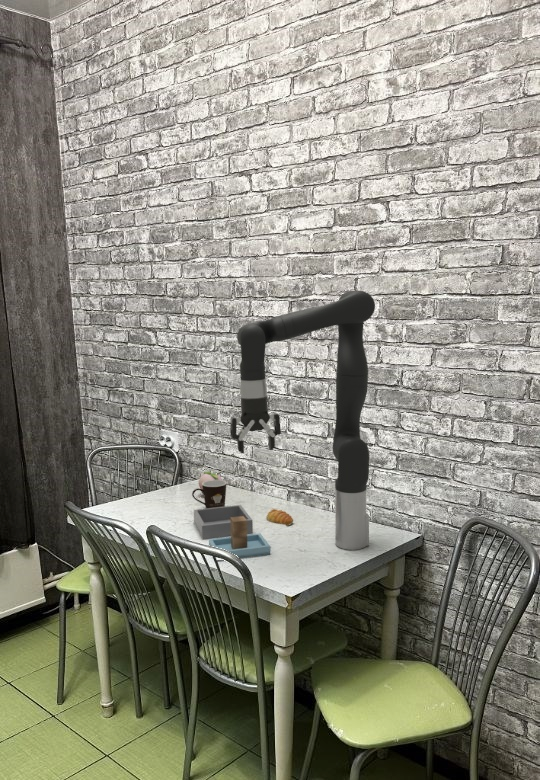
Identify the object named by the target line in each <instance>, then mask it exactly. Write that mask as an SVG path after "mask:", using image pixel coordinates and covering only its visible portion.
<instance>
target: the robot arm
mask: <svg viewBox="0 0 540 780" xmlns="http://www.w3.org/2000/svg"><path fill="white" fill-rule="evenodd" d="M375 310H376V302H375V299H374V297H373V296H372V295H371V294H370V293H368V292H366V291H363V290H359V289H358V290H349V291H345V292H344V293H343V294H341V296H340V297H339V299H338V300H336V301H333V302H330V303H327V304H324V305H320V306H316V307H311V308H305V309H299V310H296V311H290V312H288V313H284V314H280V315H277V316H275V317H272V318H269V319H264V320H259V321H255V322H250V323H248V324H247V323H246V324H244V325H242V326H241V327H240V328H239V329H238V331H237V335H236V338H237V342H238V344H239V345H240V353H241V354H240V356H241V361H240V364H239V373H240V375H239V376H240V388H239V389H240V390H239V396H240V407H241V415H240V417H234V416H231V417H230V423H229V424H230V437H231V438H232V440H236V441H237V442H236V443H237V450H238V452H239V453H240V454H244V453H245V444H244V438H245V437H246V435H247V434H248V433H249V431H250V432H257V431H263V430H264V431H265V432H266V433H267V434H268V436H267V437H268V439H267V441H268V450H270V451H274V449H275V446H276V440H275V437H276V436H278V435H279V436H280V435H281V434H282V429H281V428H282V427H281V421H280V415H279V414H278V413H276V412H273V413H271V414H269V407H268V388H267V386H268V385H267V379H266V367H265V365H266V364H265V357H266V345H267V344H270V343H273V342H282V341H287V340H291V339H294V338H297V337H301V336H304V335H307V334H310V333H313V332H316V331H319V330H322V329H326V328H331V327H334V326H337V327H338V328H337V329H338V330H337V331H338V344H337V357H336V373H335V378H336V379H335V411H336V415H335V425H334V426H335V427H334V434H333V440H332V453H333V456H334V458H335V459H336V460H337V462H338V464H337V465H338V466H337V467H338V468H337V469H338V470H337V477H336V479H335V480H334V481H335V483H334V487H335V488H334V492H335V493H334V497H335V499H334V500H335V501H334V502H335V509H334V512H335V516H334V517H335V518H334V519H335V520H334V521H335V522H334V524H335V525H334V526H335V527H334V529H335V530H334V531H335V532H334V533H335V535H334V539H335V545H336V547H338V548H340V549H343V550H349V551H355V550H356V551H357V550H362V549H364V548H365V547H369V546H370V515H369V514H368V512H367V484H368V483H369V482H368V481H369V476H370V475H369V474H370V450H369V446H368V444H367V443H366V442H365V441H364V440H363V439H361V426H360V425H361V414H362V410H363V408H364V405H365V402H366V398H367V394H368V387H369V367H368V365H369V364H368V359H367V355H366V350H365V346H364V324H365V322H366V321H368V320H369V319H370V318H371V317H372V316H373V315H374V313H375ZM270 420H271V421H272V422H273V428H274V430H272V429H271V428H270V426H268V422H270ZM240 422H241V423H242V427H241V428H240V430H239V432H238V434H237V426H239V425H240V424H239V423H240Z"/></svg>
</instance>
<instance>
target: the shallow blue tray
mask: <svg viewBox="0 0 540 780" xmlns="http://www.w3.org/2000/svg"><path fill="white" fill-rule="evenodd" d="M209 545H210V546H214V547H218V548H222V549H225V550H227V551H229V552H231V553H233V554H235V555H237V556H238V557H239V558H240V559H245V558H246V559H247V558H255V557H262V556H267V555H271V545H270V543H269V542H268V541H267V540H266V539H265V537H264V536H263V534H262V533H253V534H247V548H242V549H234V550H233V549H232V547H231V536H229V537H221V538H212V539H208V546H209Z"/></svg>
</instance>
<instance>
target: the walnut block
mask: <svg viewBox="0 0 540 780" xmlns="http://www.w3.org/2000/svg"><path fill="white" fill-rule="evenodd" d="M230 524H231V536H230V537H231V547H232V549H233V550H234V549H242V548H247V535H248V534H247V520H246V519H245V517H244V516H240V517H231V518H230Z"/></svg>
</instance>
